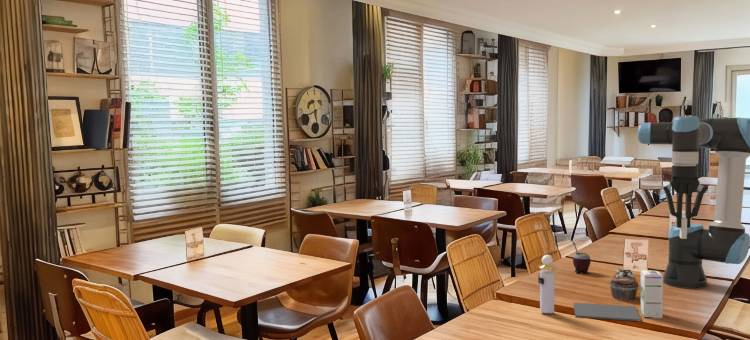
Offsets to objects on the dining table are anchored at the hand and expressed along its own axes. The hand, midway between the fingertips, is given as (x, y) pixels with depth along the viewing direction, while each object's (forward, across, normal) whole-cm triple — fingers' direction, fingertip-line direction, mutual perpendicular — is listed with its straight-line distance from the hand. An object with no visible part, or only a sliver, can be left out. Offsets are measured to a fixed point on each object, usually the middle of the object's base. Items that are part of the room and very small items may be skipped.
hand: (683, 237), depth 191 cm
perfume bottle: (+27, +42, +5) cm, 50 cm away
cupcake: (+27, +15, -19) cm, 36 cm away
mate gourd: (+27, +28, -52) cm, 65 cm away
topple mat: (+26, +23, 0) cm, 35 cm away
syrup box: (+27, +9, 0) cm, 28 cm away
